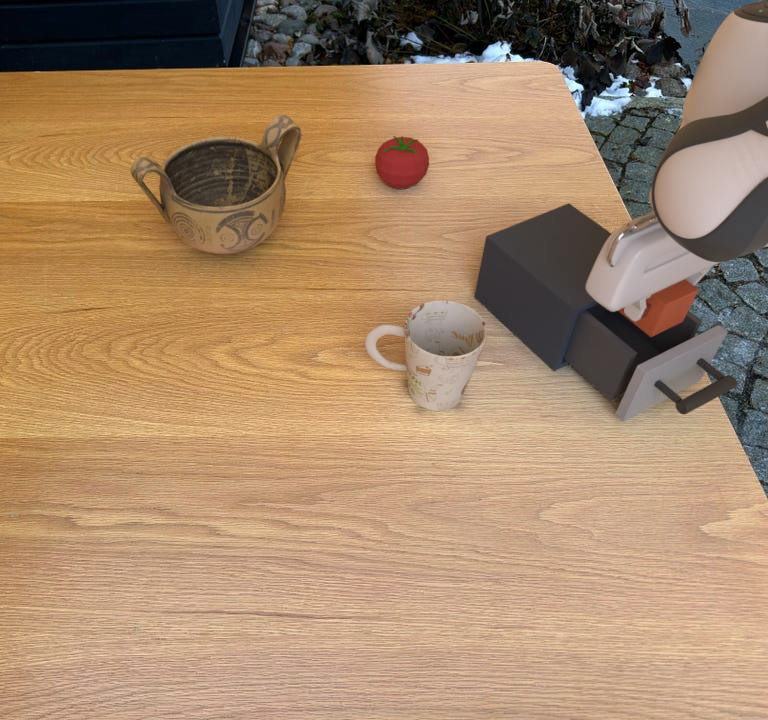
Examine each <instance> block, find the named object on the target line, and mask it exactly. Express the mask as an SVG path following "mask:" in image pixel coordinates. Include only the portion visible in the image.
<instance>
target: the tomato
mask: <svg viewBox="0 0 768 720" xmlns="http://www.w3.org/2000/svg"><path fill="white" fill-rule="evenodd" d="M374 166H375V171H376V172H375V173H376V174H377V177H379V178H380V179H381V180H382V182H383V183H385V184H386V185H387V186H388V187H391V188H393V189H394V188H395V189H409V188H411V187H413V186H415V185H417V184H418V183H419V182H421V181H422V180H423V179H424V177H425V176H426V175H427V173H428V170H429V168H430V157H429V152H428V149H427V147H426V146H425V145H424V144H423V143H422V142H420V140H418V139H416V138H413V137H408V136H403V135H402V136H395V135H393V138H390V139H388V140H386V141H385V142H383V143H382V144H381V145H380V146H379V147H378V149H377V151H376V154H375V156H374Z"/></svg>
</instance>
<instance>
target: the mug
mask: <svg viewBox="0 0 768 720" xmlns="http://www.w3.org/2000/svg"><path fill="white" fill-rule="evenodd" d="M387 335H392V336H397V337H401V338H404V348H405V359H406V360H405V362H406V363H405V364H404V363H399V362H394V361H392V360H388V358H386V357H384V356H383V355H382V354H381V352H380V351H379V349H378V347H377V342H378V340H380V338H382V337H383V336H387ZM487 336H488V328H487V325H486V322H485V321H484V319H483V317H482V316H481V315H480V314H479V313H478V312H477V311H475V310H474V309H472V307H470V306H467V305H466V304H463V303H461V302H457V301H452V300H443V299H442V300H430V301H427V302H424V303H421V304H419V305H417V306H416V307H414V308H413V309H412V310H411V311H410V312H409V313H408V314H407V316H406V318H405V321H404V326H403V325H396V324H387V323H386V324H385V323H383V324H379V325H377V326H375V327H374V328H372V329H371V330H370V331H369V332H368V333H367V335H366V337H365V340H364V347H365V350H366V352H367V353H368V355H369V356H370V357H371V358H372V359H373V361H375V362H376V363H378V364H379V365H380V366H382V367H384V368H386V369H387V370H388V369H389V370H394V371H399V372H406V376H407V377H406V378H407V388H408V394H409V396H410V398H411V400H412V401H413V402H414V403H415V404H416V405H418V406H419V407H420V408H423V409H425V410H428V411H433V412H443V411H448V410H450V409H451V410H452V409H453V408H454V407H456V406H457V405H458V404H459V403H460V402H461V400H462V398H463V396H464V395H465V391H466V389H467V387H468V384H469V382H470V380H471V377H472V375H473V374H474V370H475V368H476V366H477V363H478V362H479V359H480V356H481V353H482V352H483V349H484V347H485V344H486V340H487Z"/></svg>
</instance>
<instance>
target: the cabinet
mask: <svg viewBox="0 0 768 720" xmlns="http://www.w3.org/2000/svg"><path fill="white" fill-rule="evenodd" d="M611 234H612V232H610V231H609V230H607V229H606V228H604V227H603V226H602V225H600V224H599V223H597V222H596V221H594V220H593V219H592V218H591V217H589V216H588V215H587V214H585V213H584V212H583V211H581V210H579V209H578V208H577V207H575V206H574V205H572V204H571V203H566V204H563V205H561V206H559V207H556V208H553V209H550V210H549V211H546V212H543V213H541V214H538V215H536V216H533V217H531V218H528V219H526V220H524V221H520V222H518V223H515V224H513V225H511V226H508V227H505V228H503V229H500V230H498V231H495V232H493V233H490V234H488V235H486V236H485V240H484V245H483V250H482V255H481V260H480V265H479V270H478V275H477V281H476V285H475V289H474V290H475V291H474V296H473V297H474V298H475V300H477V302H479V303H480V304H481V305H482V306H483V307H484V308H485V309H486V310H487V311H488V312H489V313H490V314H492V315H493V316H494V317H495V318H496V319H497V320H498V321H499V322H500V323H502V325H503V326H504V327H506V328H507V329H508V330H509V331H510V332H511V333H512V334H513V335H514V336H515V337H517V339H518V340H519V341H521V343H522V344H524V345H525V346H526V347H527V348H528V349H529V350H530V351H531V352H532V353H533V354H534V355H535V356H537V358H539V359H540V360H541V361H542V362H543V363H544V364H545V365H546V366H548V368H550V369H551V371H553V372H555V371H556V372H557V371H558V370H560V369H562V368H565V367H567V366H569V365H570V364H569V363H568V362H567V361H566V360H565V359H564V358H563V357H564V354H565V351H566V348H567V345H568V342H569V339H570V336H571V333H572V331H573V328H574V325H575V322H576V319H577V316H578V313H580V312H582V311H584V310H586V309H588V308H591V307H593V306H595V305H597V304H599V303H598V302H596V301H595V300H594V299H593V298H592V297H591V296H590V295H589V294H588V292H587V291H586V288H585V286H586V282H587V279H588V277H589V274H590V272H591V270H592V268H593V265H594V263H595V261H596V259H597V257H598V255H599V253H600V251H601V249H602V247H603V245H604V244H605V242H606V240H607V239H608V238H609V236H610V235H611Z"/></svg>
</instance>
